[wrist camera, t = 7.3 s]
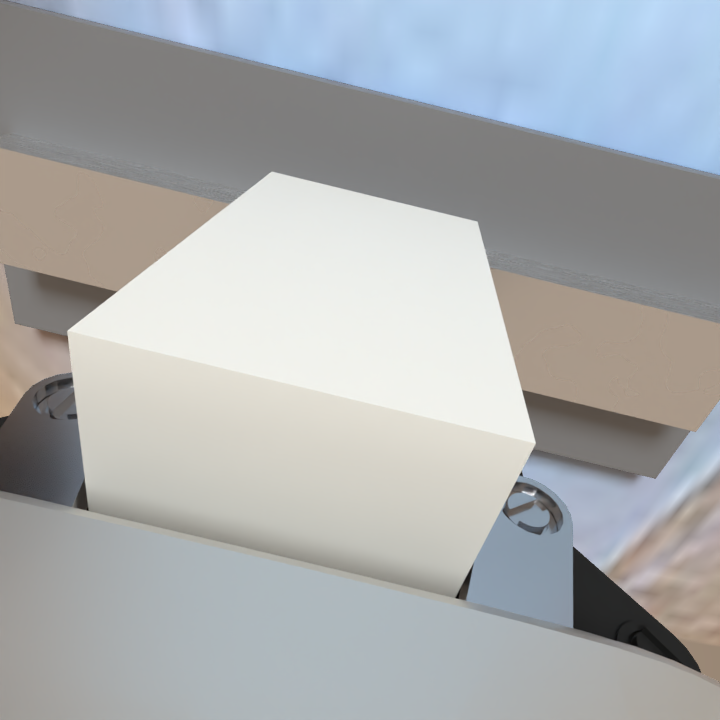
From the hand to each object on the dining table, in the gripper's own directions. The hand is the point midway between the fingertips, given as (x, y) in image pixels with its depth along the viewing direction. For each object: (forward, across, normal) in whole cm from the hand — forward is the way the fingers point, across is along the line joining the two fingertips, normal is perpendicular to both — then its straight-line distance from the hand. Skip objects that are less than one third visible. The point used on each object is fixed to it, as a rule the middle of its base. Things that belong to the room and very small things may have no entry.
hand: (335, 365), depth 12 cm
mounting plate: (+6, 0, 0) cm, 6 cm away
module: (+1, 0, 0) cm, 1 cm away
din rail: (+5, 0, 0) cm, 5 cm away
